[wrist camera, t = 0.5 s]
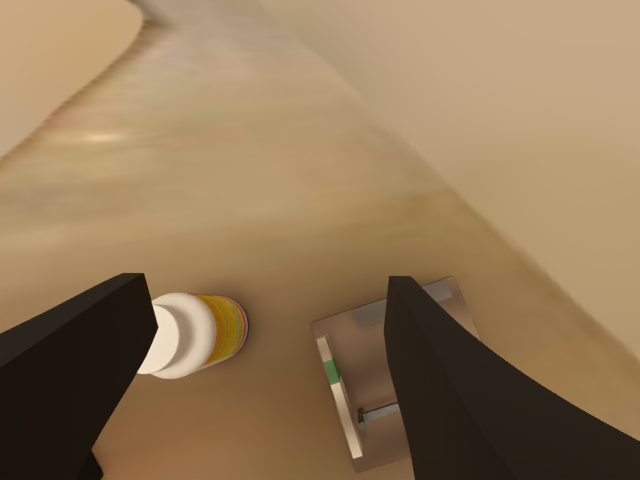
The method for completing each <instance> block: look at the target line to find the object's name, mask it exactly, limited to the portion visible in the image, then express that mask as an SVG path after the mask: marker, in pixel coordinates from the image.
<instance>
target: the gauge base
mask: <svg viewBox="0 0 640 480" xmlns="http://www.w3.org/2000/svg"><path fill="white" fill-rule="evenodd" d="M422 288H423V289H424V290H425V291H426V292H427V293H428V294H429V295H430V296H431V297H432V298H433V299H434V300H435V301H436V302H437V303H438V304H439V305H440V306H441V307H442V308H443V309H444V310H445V311H446V312H447V313H448V314H449V315H450V316H452V317H453V318H454V319H455V320H456V321H457V322H458V323H459V324H460V325H462V326H463V327H464V328H465V329H466V330H467V331H469V332H470V333H471V334H472V335H473V336H475V337H476V338H477V339H478V340H479V341H481V340H480V338H479V335H478V333H477V331H476V328H475V326H474V323H473V321H472V318H471V316H470V313H469V311H468V309H467V306H466V304H465V301H464V299H463V296H462V294H461V291H460V289H459V286H458V284H457V282H456V279H455V277H454V276H452V277H449V278H446V279H443V280H440V281H437V282H434V283H431V284H428V285H425V286H422ZM386 302H387V298H385V299H382V300H379V301H376V302H373V303H370V304H367V305H364V306H361V307H358V308H355V309H352V310H349V311H346V312H343V313H340V314H337V315H334V316H331V317H328V318H325V319H321V320H318V321H315V322H312V323H310V325H311V328H312V331H313V334H314V338H315V341H316V344H317V347H318V351H319V354H320V357H321V361H322V364H323V367H324V370H325V374H326V377H327V380H328V383H329V387H330V390H331V393H332V396H333V400H334V403H335V406H336V410H337V413H338V416H339V419H340V423H341V426H342V429H343V432H344V436H345V439H346V442H347V445H348V449H349V452H350V455H351V459H352V462H353V465H354V468H355V472H356V473H359V472H362V471H365V470H368V469H371V468H375V467H378V466H381V465H384V464H387V463H391V462H394V461H397V460H400V459H403V458H407V457H410V456H411V453H410V448H409V444H408V439H407V435H406V431H405V427H404V424H403V420H402V416H401V412H400V411H398V412H394V413H391V414H388V415H385V416H382V417H379V418H376V419H372V420H369V421H366V422H365V425H366V428H364V429H361V430H360V428H359V425H358V410H357V409H359V408H362V407H363V410H364V412H366V411H369V410H372V409H375V408H378V407H382V406H385V405H388V404H391V403H394V402H397V397H396V393H395V389H394V385H393V381H392V378H391V374H390V370H389V366H388V361H387V354H386V347H385V339H384V321H385V312H386Z"/></svg>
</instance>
